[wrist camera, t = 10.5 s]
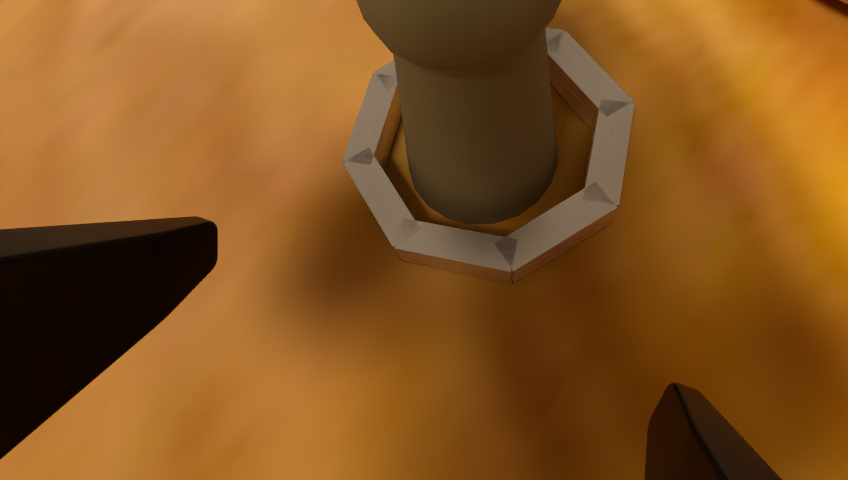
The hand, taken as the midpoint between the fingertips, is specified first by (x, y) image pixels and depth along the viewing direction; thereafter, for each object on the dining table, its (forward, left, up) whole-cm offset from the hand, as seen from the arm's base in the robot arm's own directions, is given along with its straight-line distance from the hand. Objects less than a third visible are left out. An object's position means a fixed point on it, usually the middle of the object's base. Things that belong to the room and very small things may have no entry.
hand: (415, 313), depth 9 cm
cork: (+7, +5, -9) cm, 12 cm away
